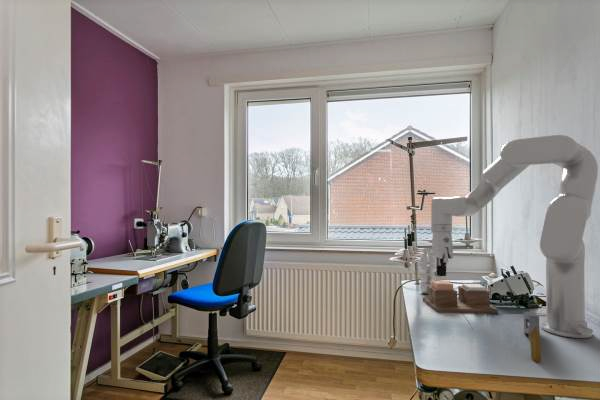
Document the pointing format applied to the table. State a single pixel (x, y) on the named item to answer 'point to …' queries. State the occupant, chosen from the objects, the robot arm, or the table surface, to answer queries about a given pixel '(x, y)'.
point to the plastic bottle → (426, 270)
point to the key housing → (459, 301)
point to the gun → (533, 334)
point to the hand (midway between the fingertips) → (441, 275)
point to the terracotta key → (442, 285)
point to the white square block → (473, 287)
